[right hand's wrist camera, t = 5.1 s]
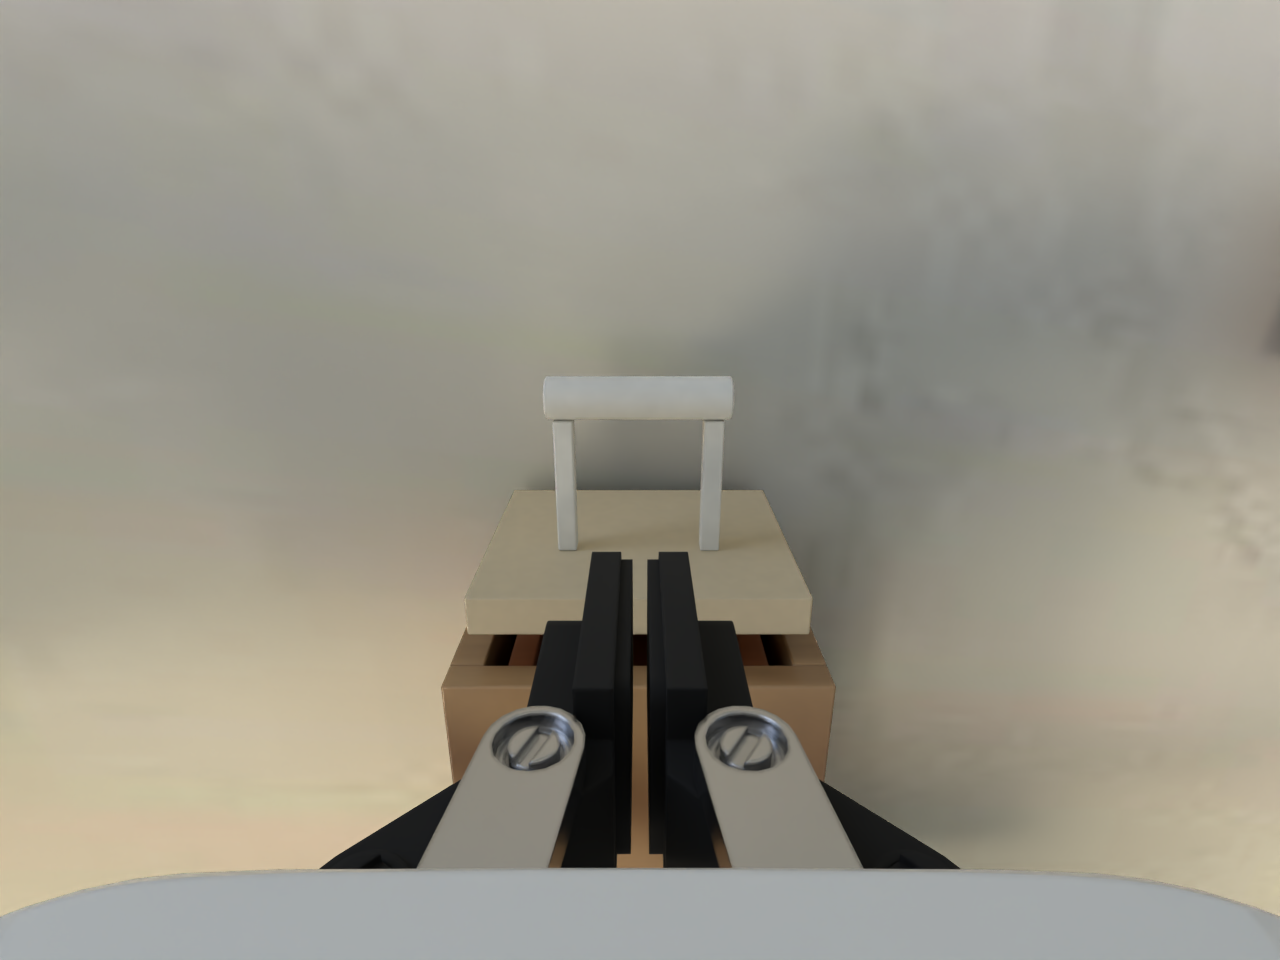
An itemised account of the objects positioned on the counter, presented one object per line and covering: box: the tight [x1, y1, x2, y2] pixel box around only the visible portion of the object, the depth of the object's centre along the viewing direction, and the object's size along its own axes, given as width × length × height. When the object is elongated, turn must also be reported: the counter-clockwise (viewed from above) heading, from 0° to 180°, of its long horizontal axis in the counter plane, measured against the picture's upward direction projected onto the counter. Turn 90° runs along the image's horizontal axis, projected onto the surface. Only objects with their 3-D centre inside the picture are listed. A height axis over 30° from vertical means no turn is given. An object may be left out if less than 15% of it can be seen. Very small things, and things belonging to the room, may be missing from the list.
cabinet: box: [441, 627, 836, 868], centre depth 27 cm, size 18×11×10 cm, turn 0°
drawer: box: [464, 376, 813, 666], centre depth 25 cm, size 22×10×8 cm, turn 0°
